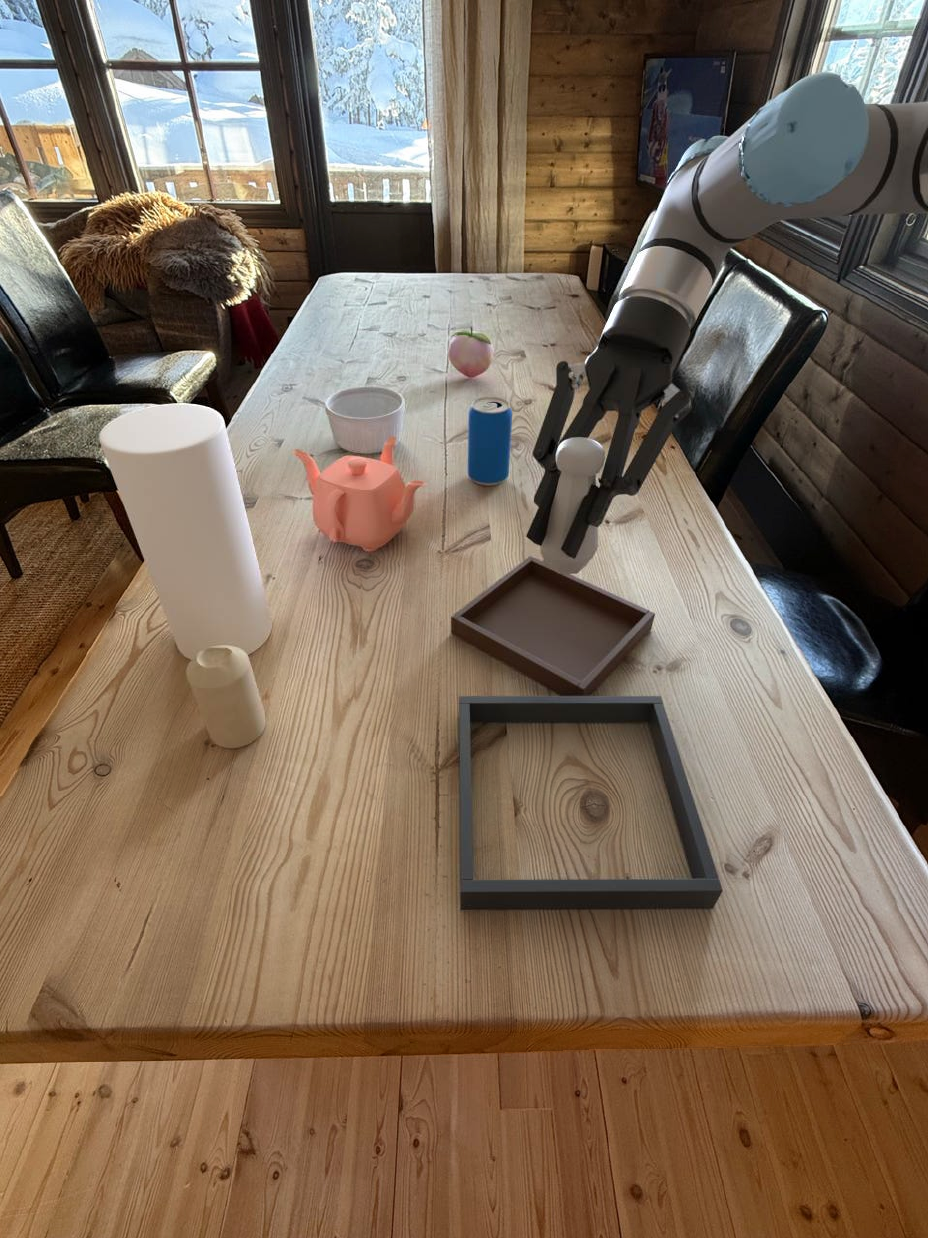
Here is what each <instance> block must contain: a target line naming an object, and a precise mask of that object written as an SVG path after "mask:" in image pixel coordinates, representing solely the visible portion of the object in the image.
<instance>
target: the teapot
mask: <svg viewBox="0 0 928 1238" xmlns="http://www.w3.org/2000/svg"><path fill="white" fill-rule="evenodd" d="M395 443H396V437H391V438H390V439H388V440H387V442H386V443H385V445H384V448H383V451H382V452H381V455H380V458H379V460H378V459H375V458H372V457H371V458H370V457H365V456H360V455H343V456H341V457H340V458H339V459H338V458H337V460H334V462H332V463H331V464H330V465H329V466H327V467H326V468H325V469H323V471H321V472H320V470H319V468H318V466H317V464H316V462H315V460H314V458H313V457H312V456H311V455H310V454H309V453H307V452H305V451H303V450H301V449H293V454H294V455H295V456H296V457H297V458H298V459H299V460H300V461H301V463H302V464H303V467H304V469H305V473H306V479H307V484H308V488H309V491H310V493H311V495H312V496H313V497H312V518H313V522H314V525H315V526H316V527H317V529H318V531H320V533H322V535H325V536H326V537H329V538H328V539H329V540H330V541H332V542H333V543H340V542H341V543H342V544H343V543H344V544H347V545H351V546H356V547H362V550H363V551H365V552H374V551H377V550H378V549H379V548H381V547H383V546H385V545H386V544H387V543H389V542H390V541H391V540H392V539H393V538H394V537H396V536H397V534H398V533H399V532H400V531H401V530H402V529H403V528H404V526H405V525H406V524H407V523H408V520H409V519H410V517H411V515H412V514H413V512H414V508H415V495H416V491H417V490H418V488H420V487H422V486H424V485H426V481H423V480H413V481H410V482H408V483H407V484H405V481H404V479H403V477H402V475H401V473H400V471H399V468H398V467H396V466H395V462H394V449H395V446H396V445H395Z"/></svg>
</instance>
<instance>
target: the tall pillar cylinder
mask: <svg viewBox="0 0 928 1238" xmlns="http://www.w3.org/2000/svg"><path fill="white" fill-rule="evenodd" d="M98 438H99V443H100V446H101V449H102V451H103V453H104V457H105V459H106V461H107V465H108V467H109V469H110V473H111V475H112V477H113V480H114V483H115V485H116V488H117V490H118V493H119V496H120V499H121V503H122V505H123V507H124V510H125V512H126V515H127V518H128V520H129V523H130V526H131V528H132V530H133V533H134V537H135V538H136V540H137V544H138V546H139V549H140V552H141V555H142V557H143V559H144V562H145V565H146V568H147V571H148V573H149V576H150V578H151V582H152V585H153V587H154V589H155V591H156V594H157V597H158V600H159V602H160V605H161V607H162V610H163V613H164V616H165V618H166V621H167V624H168V626H169V629H170V632H171V635H172V637H173V639H174V642H175V645H176V648H177V649H178V651H179V653H180V654H181V655H182V656H183V657H185V658H186V659H187V660H190V661H191V660H192V659H193V658H194V657H195V656H196V655H197V654H198V652H199V651H202V650H204V649H206V648H210V647H213V646H219V645H228V646H234V647H237V648H240V649H242V650H243V651H244V652H245V653H246V654H247V655H248V656H250V655H251V654H252V653H254V652H256V651H257V650H258V649H259V648H261V647H262V646H263V645H264V644H265V643H266V642H267V640H268V639H269V638H270V635H271V633H272V630H273V620H272V617H271V612H270V607H269V603H268V599H267V595H266V591H265V587H264V582H263V578H262V573H261V570H260V565H259V562H258V556H257V552H256V549H255V545H254V540H253V536H252V532H251V527H250V523H249V519H248V515H247V512H246V506H245V502H244V498H243V494H242V491H241V486H240V482H239V477H238V473H237V469H236V465H235V461H234V456H233V453H232V447H231V443H230V440H229V435H228V431H227V426H226V423H225V419H224V417H223V416H222V414H221V413H220V412H219V411H217V410H215V409H214V408H211V407H208V406H205V405H201V404H194V403H165V404H164V403H163V404H158V405H152V406H146V407H141V408H138V409H134V410H132V411H129V412H126V413H123V414H121V415H119V416H117V417H115V418H113V419H112V420H111V421H109V422H108V423H106V425H105V426H104V427H103V428H102V429H101V430H100V432H99V437H98Z"/></svg>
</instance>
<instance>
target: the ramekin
mask: <svg viewBox="0 0 928 1238" xmlns="http://www.w3.org/2000/svg"><path fill="white" fill-rule="evenodd" d="M405 410H406V404H405V398H404V397H403V395H402V394H400V393H399V392H397V391H395V390H393V389H391V388H388V387H382V386H375V385H374V386H373V385H362V386H361V385H360V386H353V387H348V388H344V389H340V390H338V391H336V392H334V393H332V394H330V395H329V396H328V397H327V398H326V399H325V401H324V411H325V414H326V415H327V418H328V422H329V426H330V430H331V434H332V437H333V439H334V442H335V443H336V444H337V445H338V446H339V447H340V448H341V449H343V450H345V451H346V452H350V453H352V454H353V453H354V454H361V455H372V454H379V453H382V451H383V448H384V445H385V443H386V442H387V440H388V439H390V438H391V437H396V443H395V446H397V444H398V442H400V440H401V438H402V435H403V428H404V427H403V426H404V413H405Z"/></svg>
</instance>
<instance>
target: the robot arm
mask: <svg viewBox="0 0 928 1238" xmlns="http://www.w3.org/2000/svg"><path fill="white" fill-rule="evenodd" d="M896 214H898V215H901V214H903V215H905V214H906V215H907V214H912V215H913V214H915V215H917V214H919V215H920V214H928V100H927V101H919V102H903V103H884V104H883V103H882V104H880V103H865V100H864V98H863V97H862V95H861V93H860V91H859V89H858V88H857V87H856V85H854V84H853V83H848V82H845V81H843V80H842V77H841V75H840V74H838V73H835V72H830V71H822V72H815V73H813V74H809V75H807V76H805V77H803V78H801V79H800V80H798V81H797V82H795V83H794V84H793V85H791V86H790V87H789V88H787V89H786V90H784V91H782V92H780V93H778V94H777V96H776V97H774V98H771V99H769V100H767V102H766V103H765V104H764V106H761V107H760V108H759V109H758V110H757V111H756V112H755V114H754V115H752V116H751V118H749V119H748V120H747V121H746V122H745V123H744V124H742V125H741V126H740V127H739V128H738V129H737V130H736V131H734V132H733V133H732V134H731V135H730V136H727V135H715V136H714V135H713V136H712V137H711V138H708V139H703V138H700V139H698V140H697V141H695V142H694V143H693V144H691V145H690V146H689V147H688V148H687V149H686V151H685V152H684V153H683V155H682V156H681V158H680V160H679V162H678V164H677V166H676V168H675V170H673V172H672V173H671V175H670V176H669V178H668V180H667V182H666V186H665V188H664V189H663V195H662V197H661V200H660V202H659V204H658V207H657V209H656V211H655V214H654V216H653V218H652V221H651V223H650V226H649V228H648V229H647V232H646V234H645V236H644V239H643V241H642V244H641V246H640V248H639V251H638V254H637V255H636V257H635V260H634V262H633V263H632V266H631V268H630V271H629V272H628V274H627V277H626V279H625V281H624V283H623V285H622V288H621V290H620V291H619V295H618V298H617V299H618V301H617V302H616V303H615V304H614V306H613V308H612V311H611V313H610V315H609V317H608V320H607V322H606V323H605V326H604V329H603V330H602V333H601V335H600V338H599V340H598V345H597V346H596V348H595V350H594V351H593V352H592V353H591V354H589V355H588V356H587V358H586V360H585V362H579V363H574V364H569V363H568V362H567V361H566V360H561V361H559V362H558V363H557V365H556V367H555V370H556V373H555V376H556V377H555V378H556V379H555V380H556V384H555V387H554V390H553V393H552V396H551V399H550V401H549V405H548V407H547V409H546V413H545V415H544V419H543V422H542V425H541V427H540V430H539V432H538V436H537V438H536V442H535V444H534V447H533V449H532V457H533V458H534V460H535V462H537V463H538V465H539V466H540V467H541V468H542V469H544V473H543V475H542V477H541V480H540V482H539V485H538V487H537V489H536V491H535V493H534V496H533V503H534V504H535V505H536V506H537V507H538V508H537V511H536V513H535V515H534V517H533V520H532V521H531V524H530V526H529V529H528V530H527V533H526V535H525V538H527V539H529V540H530V542H532V543H533V544H534V545H537V546H539V547H540V546H541V545H542V543H543V541H544V539H545V536H546V533H547V528H548V523H549V517H550V512H551V507H552V504H553V500H554V497H555V493H556V489H557V485H558V481H559V478H560V475H561V471H560V470H559V469H558V468H557V464H556V452H557V449H558V446H559V445H560V444H561V443H562V442H563V441H564V440H567V439H569V438H575V437H583V438H589V437H590V436H591V434H592V432H593V431H594V429H595V427H596V426H597V424H598V422H600V421H602V420H603V419H604V417H605V415H606V413H607V412H617V420H616V423H615V426H614V430H613V433H612V437H611V441H610V444H609V448H608V451H607V455H606V458H605V461H604V464H603V468H602V472H601V476H600V477H598V478H597V481H598V483H599V486H598V485H597V484H596V485H593V484H591V486H590V489H589V492H588V494H587V495H586V496H584V498H583V500H582V503H581V505H580V507H579V509H578V511H577V514H576V516H575V518H574V520H573V523H572V525H571V527H570V529H569V532H568V534H567V536H566V538H565V541H564V543H563V545H562V547H561V550H562V551H563V552H564V553H565V554H566V555H567V556H569V557H571V558H574V559H575V558H576V556H577V554H578V551H579V549H580V547H581V545H582V542H583V540H584V538H585V535H586V531H587V530H588V527H589V525H592V526H595V527H598V528H599V527H600V526H601V525H602V524H603V521H604V519H605V517H606V515H607V514H608V511H609V508H610V506H611V504H612V501H613V499H614V498H615V497H617V496H619V495H628V496H629V497H634V496H636V495H637V494H638V493H639V491H640V490H641V487H642V486H643V484H644V482H645V480H646V479H647V477H648V475H649V473H650V471H651V470H652V468H653V467H654V464H655V462H656V461H657V460H658V458H659V456H660V453H661V452H662V450H663V448H664V446H666V445H665V444H666V443H667V441H668V440H669V437H671V436H670V435H671V434H672V432H673V430H674V429H675V427H676V425H678V424H679V423H680V422H681V421H682V420H683V419H684V418H685V417H686V416H688V414H690V412H691V411H692V409H693V406H692V400H691V395H690V392H689V391H688V390H687V389H680V388H678V386H676V385H675V384H674V371H675V369H676V368H677V365H678V363H679V361H680V359H681V357H682V354H683V351H684V349H685V347H686V345H687V343H688V341H689V338H690V336H691V330H692V329H693V327H694V326H695V325H696V321H697V320H698V317H699V315H700V313H701V311H702V309H703V306H704V305H705V302H706V300H707V298H708V296H709V293H710V291H711V289H712V287H713V285H714V283H715V279H716V277H717V275H718V273H719V271H720V269H721V267H722V265H723V262H724V261H725V258H726V256H727V254H728V253H729V251H730V250H731V249H732V248H733V247H736V246H737V245H739V244H740V243H742V242H744V241H746V240H748V239H749V238H752V237H753V236H755V235H756V234H758V233H759V232H762V231H763V230H764V229H766V228H768V227H769V226H772V225H774V224H776V223H778V222H780V221H784V220H797V219H800V220H801V219H815V218H833V217H834V218H836V217H848V216H862V215H863V216H864V215H865V216H866V215H867V216H868V215H896ZM585 378H587V384H588V391H587V392H586V394H585V395H584V397H583V400H582V405H581V407H580V408H579V410H578V412H577V413H576V415H575V416H574V418H573V420H572V421H571V423H570V424H569V426H568V427H567V430H566V431H565V432H564V434H563V436H562V433H563V431H564V428H565V425H566V422H567V419H568V416H569V413H570V411H571V408H572V406H573V403H574V400H575V399H574V398H575V395H576V392H575V391H576V390H577V391H578V390H579V389H580V386H581V385H582V381H583V380H584V379H585ZM660 399H662V400H661V404H660V405H661V408H660V410H659V411H658V413H657V415H656V416H655V418H654V420H653V422H652V423H651V425H650V427H649V429H648V430H647V432H646V434H645V436H644V438H643V439H642V442H641V443H640V444H639V447H638V449H637V450H636V452H635V454H634V456H633V458H632V459H631V461H630V463H629V464H628V466H627V469H626V470H625V467H626V463H627V461H628V457H629V452H630V450H631V446H632V442H633V438H634V435H635V431H636V429H637V428H638V426H639V423H640V419H641V415H642V412H643V411H644V410H645V409H647V408H649V407H650V406H652V405H653V404H654V403H656V402H657V401H659V400H660ZM561 436H562V437H561ZM624 470H625V472H624Z"/></svg>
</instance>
